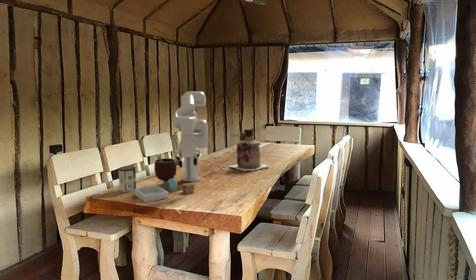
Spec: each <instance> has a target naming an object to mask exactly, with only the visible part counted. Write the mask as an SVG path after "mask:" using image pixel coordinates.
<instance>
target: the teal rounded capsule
mask: <svg viewBox="0 0 476 280" xmlns="http://www.w3.org/2000/svg"><path fill="white" fill-rule="evenodd" d="M168 182H169V188H168V192H177V191H178V178H175V177H174V178H172V179H169V180H168Z"/></svg>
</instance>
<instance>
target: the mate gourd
mask: <svg viewBox="0 0 476 280" xmlns="http://www.w3.org/2000/svg"><path fill="white" fill-rule="evenodd" d="M155 157H156V158H157V159H155V160H154V174H155V176H156V178H157V179H158V180H161V181H163V182H162V183H158V184H156V185H155V186H159V187H160V188H163V189H164V190H165V189H166V188H167V189H169V179H172V178H175V176H176V175H177V161H176V158H168V157H167V158H165V157H164V158H162V157H161V155H158V154H155Z"/></svg>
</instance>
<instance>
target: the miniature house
mask: <svg viewBox="0 0 476 280" xmlns="http://www.w3.org/2000/svg"><path fill="white" fill-rule="evenodd" d="M136 168H137V167H136V166H132V165H128V166H126V165H125V166H120V167H118V168H117V169H118V181H119V191H120V192H122V193H129V192H130V193H131V192H135V190H134V189H137V174H136V172H137V171H136Z"/></svg>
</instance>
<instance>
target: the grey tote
mask: <svg viewBox="0 0 476 280" xmlns="http://www.w3.org/2000/svg"><path fill="white" fill-rule="evenodd" d="M134 190H135V191H134V195H135V197H137V198H139V199H140V200H141V201H143V202H144V203H148V202H153V201H160V200H165V199H169V198H170V197H169V196H170V195H169V193H170V191H167V190H165V189H162V188H160V187H159V186H156V185H152V186H144V187H138V188H137V187H136V189H134Z"/></svg>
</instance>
